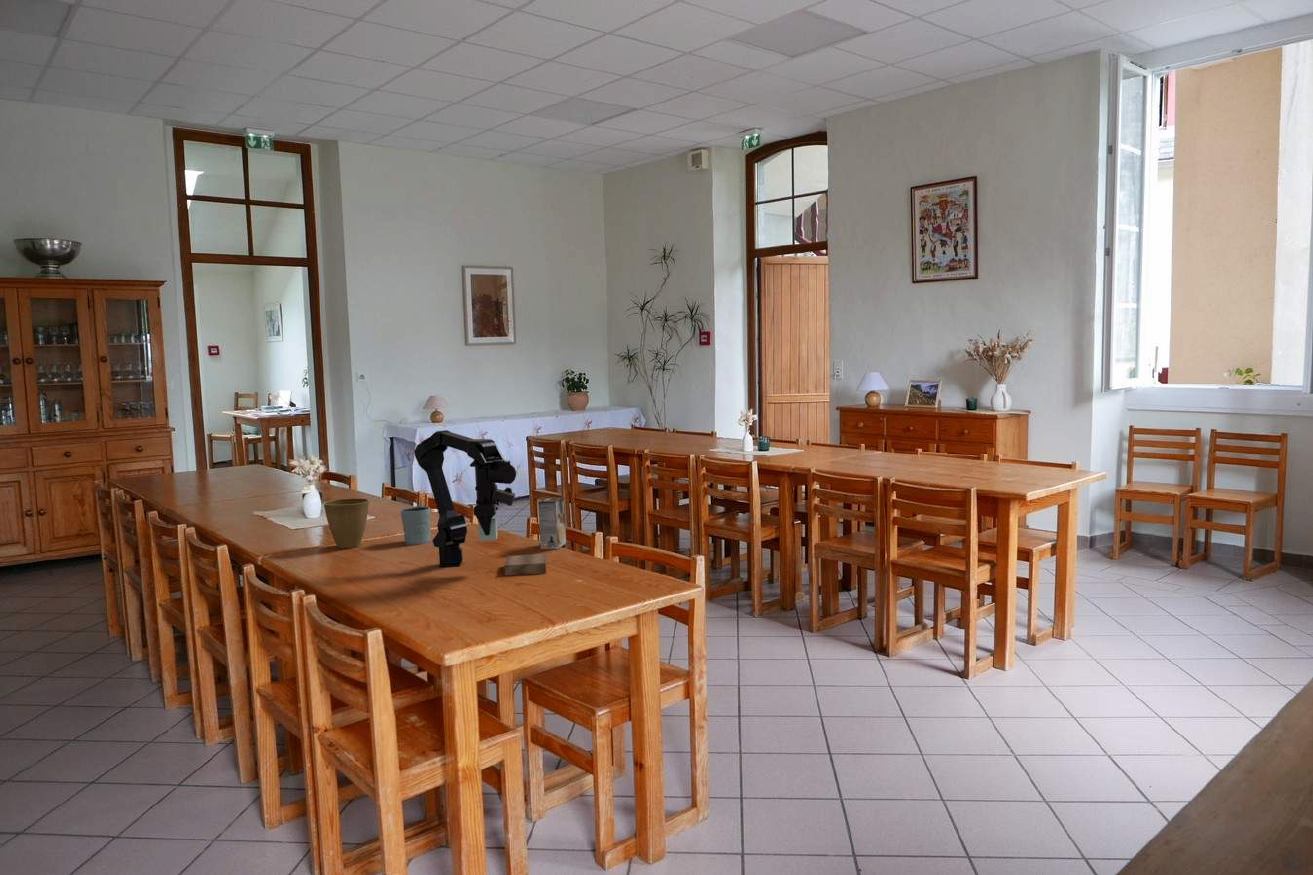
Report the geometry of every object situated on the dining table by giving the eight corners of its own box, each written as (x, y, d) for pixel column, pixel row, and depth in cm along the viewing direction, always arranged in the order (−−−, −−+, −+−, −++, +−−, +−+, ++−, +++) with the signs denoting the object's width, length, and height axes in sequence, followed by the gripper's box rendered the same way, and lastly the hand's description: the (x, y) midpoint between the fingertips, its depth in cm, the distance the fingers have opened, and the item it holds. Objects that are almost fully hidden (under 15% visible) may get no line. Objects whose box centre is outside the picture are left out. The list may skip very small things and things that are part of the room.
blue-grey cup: (427, 544, 304) (425, 510, 303) (398, 545, 304) (396, 511, 303) (435, 538, 314) (433, 505, 313) (407, 539, 314) (405, 506, 313)
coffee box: (548, 543, 301) (546, 496, 299) (566, 543, 299) (564, 497, 298) (540, 549, 292) (537, 501, 290) (558, 549, 290) (556, 501, 289)
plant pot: (353, 552, 296) (350, 505, 295) (317, 550, 301) (314, 504, 300) (380, 542, 310) (377, 498, 309) (345, 540, 315) (342, 497, 314)
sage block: (479, 540, 260) (478, 520, 259) (480, 537, 265) (479, 517, 264) (496, 539, 260) (495, 519, 260) (497, 536, 265) (496, 516, 265)
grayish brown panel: (505, 575, 258) (504, 565, 258) (507, 565, 270) (507, 556, 270) (546, 572, 260) (545, 563, 259) (546, 563, 272) (546, 553, 271)
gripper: (510, 485, 253) (513, 538, 254) (514, 476, 271) (517, 526, 273) (471, 487, 251) (474, 540, 253) (478, 478, 270) (480, 528, 271)
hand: (488, 533), depth 263 cm, fingers closed on sage block, 5 cm apart
